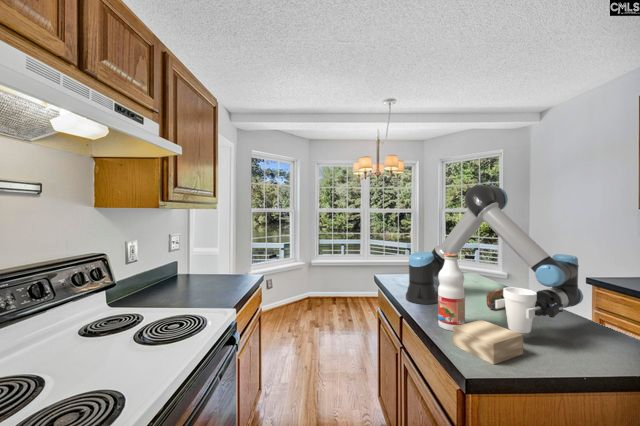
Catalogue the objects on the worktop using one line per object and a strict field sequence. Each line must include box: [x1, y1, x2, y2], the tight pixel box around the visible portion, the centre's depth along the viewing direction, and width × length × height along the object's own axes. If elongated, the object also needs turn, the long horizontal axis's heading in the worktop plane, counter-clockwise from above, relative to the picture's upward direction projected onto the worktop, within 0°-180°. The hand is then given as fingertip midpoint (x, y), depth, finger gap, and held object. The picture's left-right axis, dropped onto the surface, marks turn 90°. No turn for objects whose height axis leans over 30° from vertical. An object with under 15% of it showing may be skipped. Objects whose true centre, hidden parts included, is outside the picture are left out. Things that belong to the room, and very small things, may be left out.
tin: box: [486, 288, 506, 311], centre depth 134 cm, size 15×3×8 cm, turn 117°
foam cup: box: [502, 286, 537, 334], centre depth 99 cm, size 10×9×13 cm
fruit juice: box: [437, 253, 466, 332], centre depth 112 cm, size 9×9×28 cm
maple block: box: [452, 319, 524, 365], centre depth 94 cm, size 14×14×6 cm
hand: (511, 308), depth 97 cm, fingers closed on foam cup, 9 cm apart
